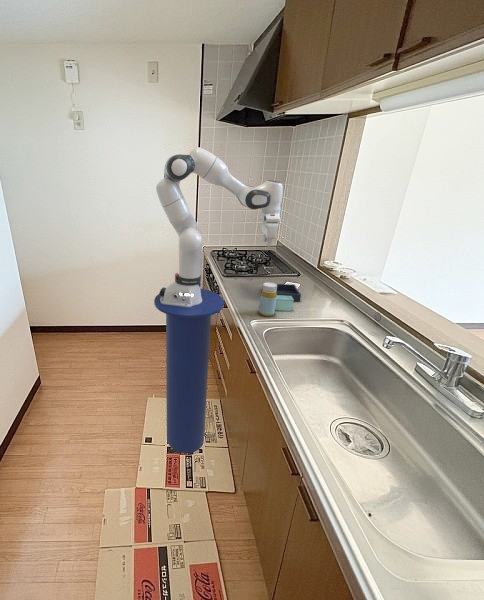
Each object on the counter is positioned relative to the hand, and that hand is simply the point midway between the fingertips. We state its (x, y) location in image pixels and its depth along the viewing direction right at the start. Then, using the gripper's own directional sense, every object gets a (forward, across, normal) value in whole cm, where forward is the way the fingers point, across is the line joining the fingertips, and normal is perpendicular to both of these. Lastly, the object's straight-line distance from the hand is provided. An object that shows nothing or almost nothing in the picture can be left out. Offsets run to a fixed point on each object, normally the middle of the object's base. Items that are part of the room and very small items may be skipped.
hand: (266, 243), depth 164 cm
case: (+29, +14, +8) cm, 33 cm away
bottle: (+29, +21, 0) cm, 36 cm away
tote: (+29, -3, +12) cm, 32 cm away
